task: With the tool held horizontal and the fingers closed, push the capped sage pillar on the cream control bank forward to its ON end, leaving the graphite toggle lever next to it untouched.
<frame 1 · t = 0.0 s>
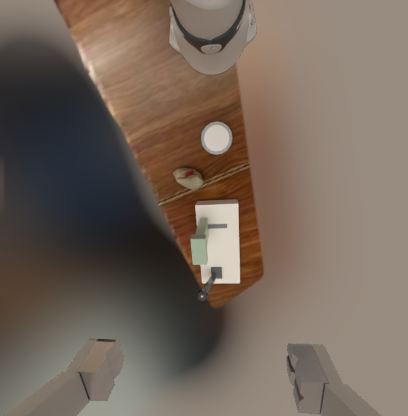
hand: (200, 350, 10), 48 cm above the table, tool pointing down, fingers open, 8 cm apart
white tapered cup: (217, 138, 53), on the table
control bank: (219, 239, 61), on the table
graphite lever: (205, 290, 53), point 12 cm above the table, hinge at 20.0°
capped sage pillar: (202, 238, 50), point 11 cm above the table, slide at 0.0 cm
chocolate bunny: (189, 175, 56), on the table
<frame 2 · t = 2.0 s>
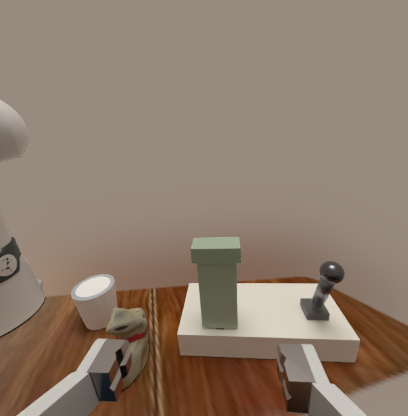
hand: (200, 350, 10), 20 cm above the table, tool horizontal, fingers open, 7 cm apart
white tapered cup: (102, 317, 39), on the table
control bank: (258, 325, 35), on the table
graphite lever: (327, 280, 27), point 12 cm above the table, hinge at 20.0°
capped sage pillar: (218, 285, 29), point 11 cm above the table, slide at 0.0 cm
chocolate bunny: (130, 364, 30), on the table
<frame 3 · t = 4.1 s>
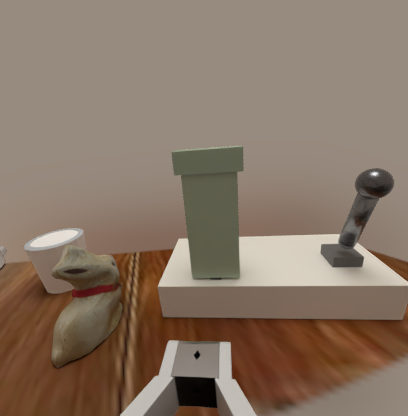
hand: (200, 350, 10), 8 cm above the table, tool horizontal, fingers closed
white tapered cup: (69, 281, 31), on the table
control bank: (265, 283, 27), on the table
graphite lever: (366, 200, 19), point 12 cm above the table, hinge at 20.0°
capped sage pillar: (212, 216, 21), point 11 cm above the table, slide at 0.0 cm
chocolate bunny: (95, 329, 22), on the table
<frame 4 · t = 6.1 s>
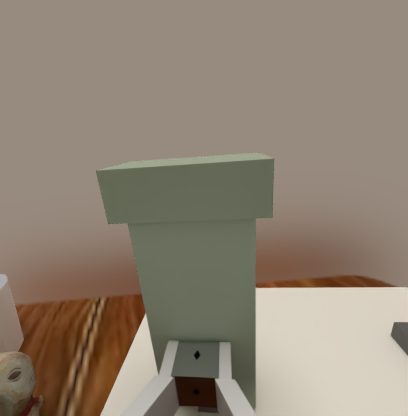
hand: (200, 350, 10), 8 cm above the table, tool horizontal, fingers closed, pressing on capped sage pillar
control bank: (293, 379, 16), on the table
capped sage pillar: (201, 294, 10), point 11 cm above the table, slide at 0.1 cm, touching gripper
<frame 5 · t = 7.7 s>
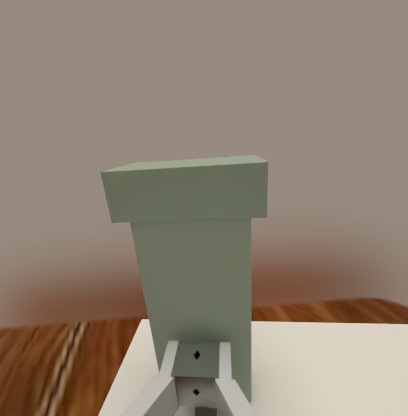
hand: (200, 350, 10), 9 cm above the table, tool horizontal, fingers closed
capped sage pillar: (199, 290, 11), point 11 cm above the table, slide at 4.4 cm
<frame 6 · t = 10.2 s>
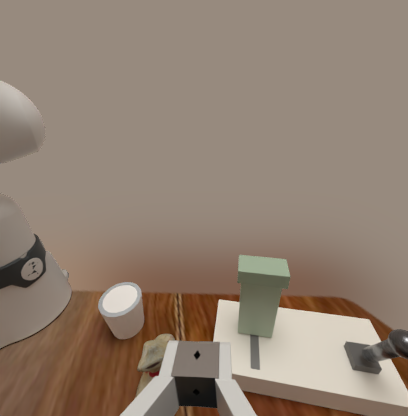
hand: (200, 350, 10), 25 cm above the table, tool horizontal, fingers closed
white tapered cup: (128, 324, 38), on the table
control bank: (291, 357, 33), on the table
graphite lever: (394, 347, 23), point 12 cm above the table, hinge at 20.0°
capped sage pillar: (258, 300, 29), point 11 cm above the table, slide at 4.4 cm
chocolate bunny: (159, 387, 30), on the table
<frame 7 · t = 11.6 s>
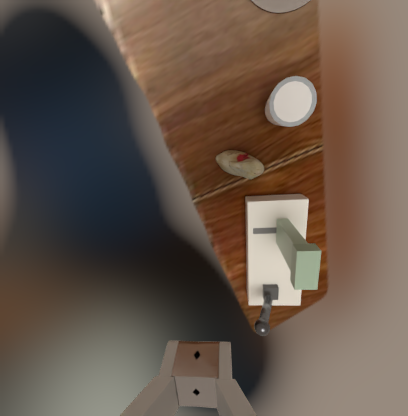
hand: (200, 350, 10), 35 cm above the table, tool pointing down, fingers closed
white tapered cup: (280, 108, 38), on the table
control bank: (271, 247, 46), on the table
graphite lever: (263, 319, 38), point 12 cm above the table, hinge at 20.0°
capped sage pillar: (292, 247, 34), point 11 cm above the table, slide at 4.4 cm
chocolate bunny: (237, 162, 42), on the table
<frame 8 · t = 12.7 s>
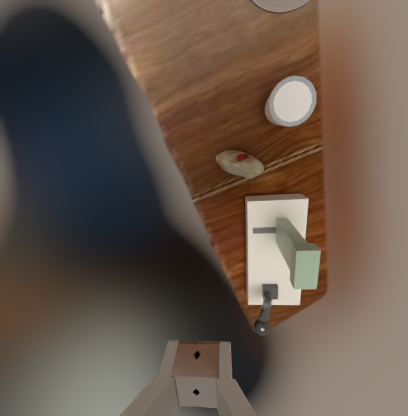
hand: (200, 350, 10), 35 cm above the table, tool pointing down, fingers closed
white tapered cup: (280, 108, 38), on the table
control bank: (271, 247, 46), on the table
graphite lever: (263, 318, 38), point 12 cm above the table, hinge at 20.0°
capped sage pillar: (291, 246, 34), point 11 cm above the table, slide at 4.4 cm
chocolate bunny: (236, 161, 42), on the table
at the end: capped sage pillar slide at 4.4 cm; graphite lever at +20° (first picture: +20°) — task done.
